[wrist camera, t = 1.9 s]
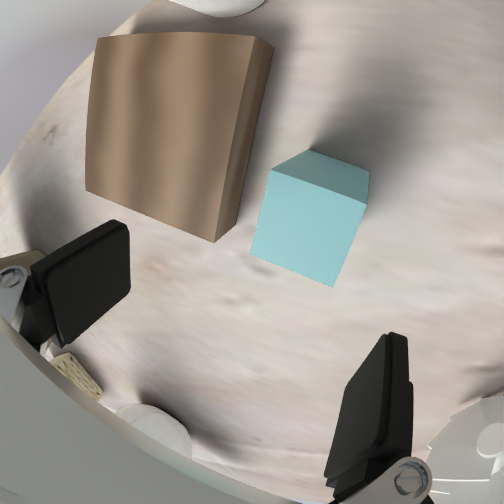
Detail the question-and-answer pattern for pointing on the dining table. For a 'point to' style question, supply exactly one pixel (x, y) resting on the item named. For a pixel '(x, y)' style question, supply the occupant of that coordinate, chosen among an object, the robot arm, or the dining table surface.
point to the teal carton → (311, 215)
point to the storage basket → (77, 374)
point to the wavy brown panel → (175, 124)
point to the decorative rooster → (158, 427)
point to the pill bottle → (221, 6)
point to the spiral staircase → (470, 456)
